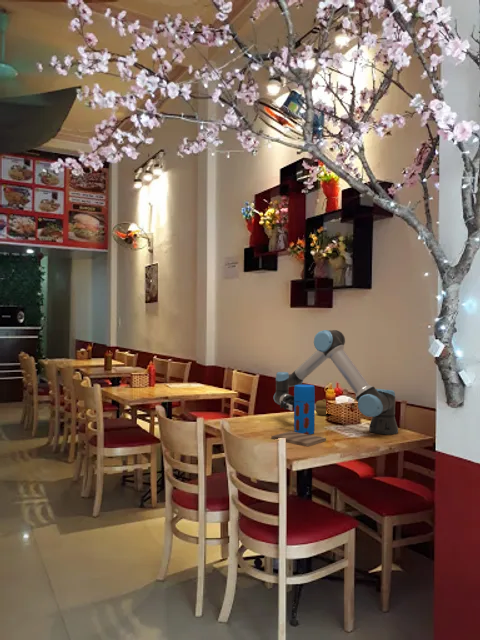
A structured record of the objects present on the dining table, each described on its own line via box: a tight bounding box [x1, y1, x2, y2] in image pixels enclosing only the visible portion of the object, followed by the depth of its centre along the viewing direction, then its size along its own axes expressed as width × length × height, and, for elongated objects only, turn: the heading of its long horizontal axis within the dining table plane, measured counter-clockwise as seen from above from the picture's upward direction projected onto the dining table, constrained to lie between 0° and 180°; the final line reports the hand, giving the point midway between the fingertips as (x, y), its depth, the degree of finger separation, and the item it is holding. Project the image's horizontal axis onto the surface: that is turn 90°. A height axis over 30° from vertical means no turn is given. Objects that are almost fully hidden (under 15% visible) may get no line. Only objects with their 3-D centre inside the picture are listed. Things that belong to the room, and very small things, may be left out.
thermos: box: [293, 384, 316, 435], centre depth 278 cm, size 11×11×25 cm
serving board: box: [271, 430, 327, 447], centre depth 261 cm, size 22×16×2 cm
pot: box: [315, 398, 327, 416], centre depth 330 cm, size 12×12×10 cm
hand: (303, 407), depth 278 cm, fingers open, 13 cm apart
